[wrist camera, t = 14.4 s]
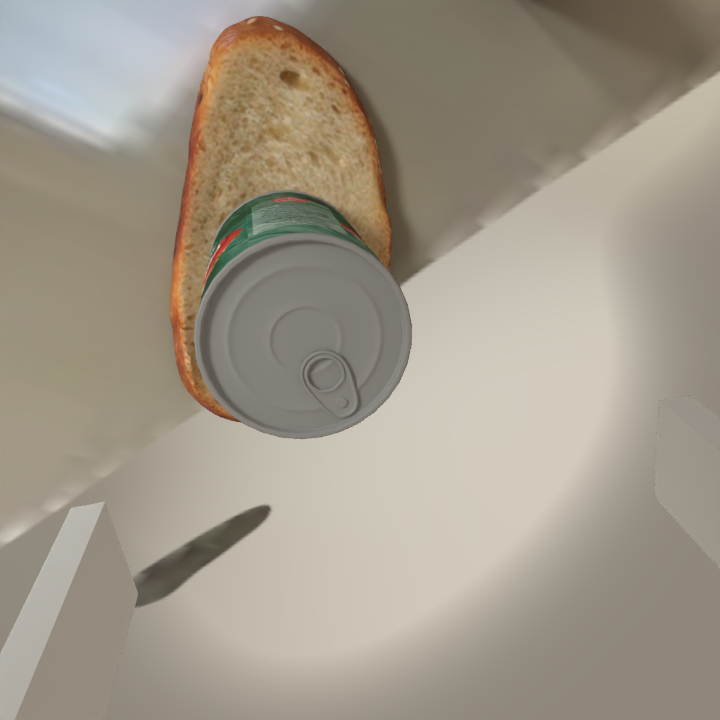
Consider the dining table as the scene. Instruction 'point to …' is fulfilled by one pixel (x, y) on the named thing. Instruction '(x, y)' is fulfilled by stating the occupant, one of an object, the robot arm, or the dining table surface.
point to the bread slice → (269, 157)
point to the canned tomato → (298, 319)
